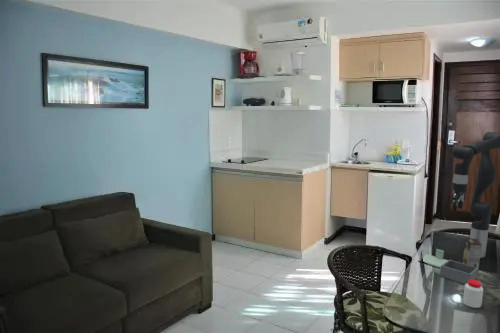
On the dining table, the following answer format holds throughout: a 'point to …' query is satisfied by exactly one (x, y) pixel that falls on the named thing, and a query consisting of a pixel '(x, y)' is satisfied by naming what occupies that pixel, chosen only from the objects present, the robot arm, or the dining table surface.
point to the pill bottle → (473, 294)
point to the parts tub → (458, 271)
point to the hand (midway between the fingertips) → (457, 209)
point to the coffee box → (472, 252)
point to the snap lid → (435, 259)
